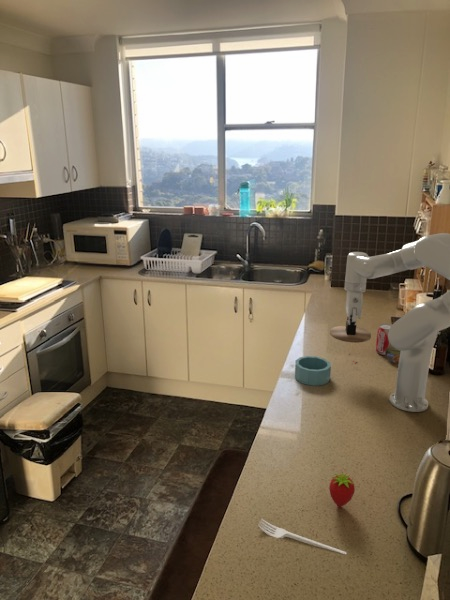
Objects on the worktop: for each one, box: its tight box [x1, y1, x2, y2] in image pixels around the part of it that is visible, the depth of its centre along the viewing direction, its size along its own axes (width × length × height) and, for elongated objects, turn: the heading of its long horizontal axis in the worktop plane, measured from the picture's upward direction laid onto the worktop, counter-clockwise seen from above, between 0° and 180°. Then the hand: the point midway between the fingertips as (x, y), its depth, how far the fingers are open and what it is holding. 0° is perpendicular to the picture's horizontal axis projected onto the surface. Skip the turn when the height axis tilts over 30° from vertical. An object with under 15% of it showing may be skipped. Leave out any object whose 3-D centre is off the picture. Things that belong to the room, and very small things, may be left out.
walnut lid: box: [329, 320, 372, 343], centre depth 180 cm, size 15×15×6 cm
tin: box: [384, 344, 401, 365], centre depth 194 cm, size 15×3×8 cm, turn 62°
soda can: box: [375, 323, 392, 356], centre depth 204 cm, size 7×7×12 cm
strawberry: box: [328, 472, 355, 508], centre depth 116 cm, size 6×8×10 cm
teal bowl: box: [294, 355, 332, 387], centre depth 182 cm, size 13×13×6 cm
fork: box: [257, 517, 347, 555], centre depth 107 cm, size 3×20×2 cm, turn 68°
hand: (350, 332), depth 181 cm, fingers closed on walnut lid, 3 cm apart
